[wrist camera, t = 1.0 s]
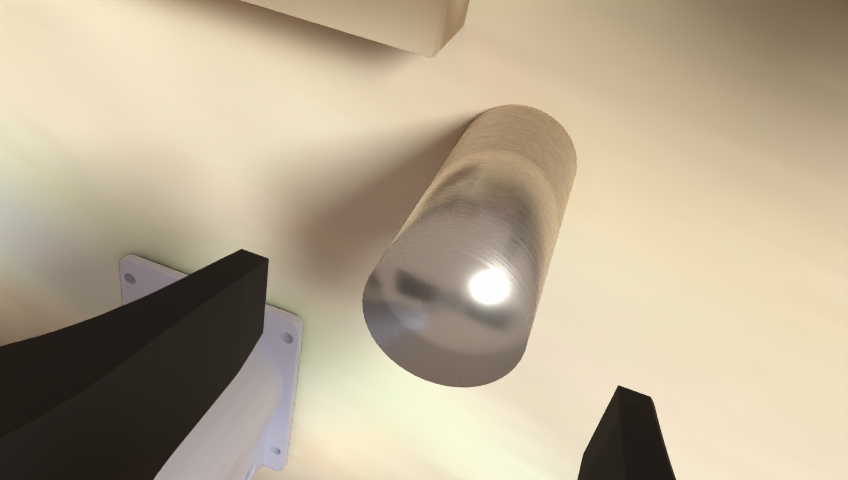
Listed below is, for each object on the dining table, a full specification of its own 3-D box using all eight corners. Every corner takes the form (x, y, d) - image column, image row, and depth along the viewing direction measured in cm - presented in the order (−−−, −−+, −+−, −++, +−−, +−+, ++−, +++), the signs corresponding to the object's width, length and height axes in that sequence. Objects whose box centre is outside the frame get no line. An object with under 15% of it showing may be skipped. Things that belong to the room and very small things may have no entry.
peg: (555, 228, 22) (502, 408, 15) (448, 192, 22) (352, 352, 16) (593, 126, 20) (550, 284, 13) (473, 89, 20) (375, 224, 14)
